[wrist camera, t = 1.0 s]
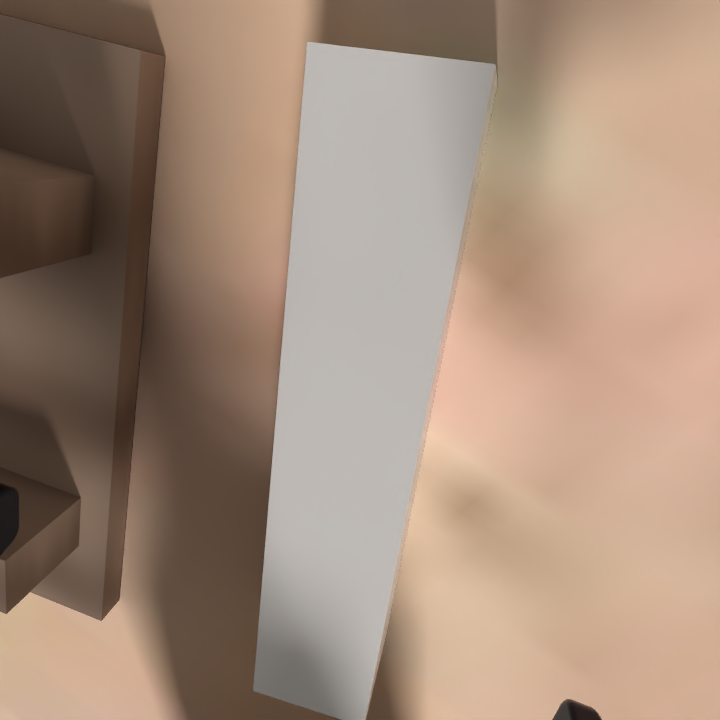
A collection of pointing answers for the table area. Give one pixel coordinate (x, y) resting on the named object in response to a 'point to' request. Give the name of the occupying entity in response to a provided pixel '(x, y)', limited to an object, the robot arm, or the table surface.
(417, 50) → the table surface
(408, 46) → the table surface
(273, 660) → the light gray rectangular bar
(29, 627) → the table surface
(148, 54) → the walnut rack
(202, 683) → the table surface
